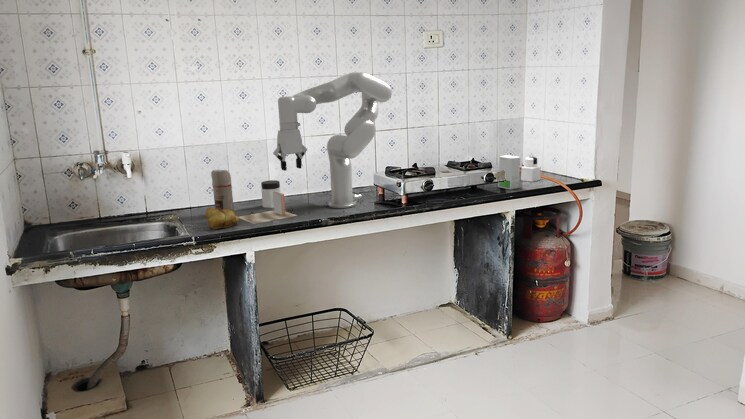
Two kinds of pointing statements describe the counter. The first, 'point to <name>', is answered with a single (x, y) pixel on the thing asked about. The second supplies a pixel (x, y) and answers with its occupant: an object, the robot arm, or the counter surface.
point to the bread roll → (221, 218)
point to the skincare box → (510, 171)
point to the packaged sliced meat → (265, 217)
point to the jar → (269, 192)
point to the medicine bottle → (530, 170)
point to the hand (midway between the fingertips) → (291, 168)
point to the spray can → (222, 189)
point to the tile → (279, 203)
